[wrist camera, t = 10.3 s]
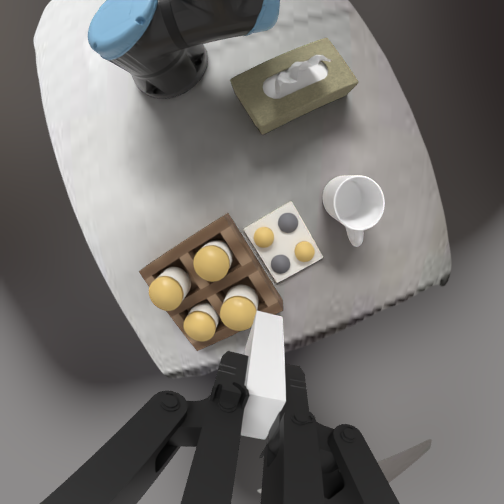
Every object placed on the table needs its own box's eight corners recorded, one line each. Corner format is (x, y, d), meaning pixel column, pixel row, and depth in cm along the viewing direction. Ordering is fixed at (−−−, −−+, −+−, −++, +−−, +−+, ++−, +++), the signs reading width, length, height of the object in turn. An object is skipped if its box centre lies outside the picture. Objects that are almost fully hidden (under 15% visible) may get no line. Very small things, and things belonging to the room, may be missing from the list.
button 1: (155, 276, 50) (142, 288, 44) (179, 261, 49) (167, 272, 43) (173, 301, 51) (162, 315, 45) (197, 287, 50) (188, 301, 44)
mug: (367, 236, 49) (387, 250, 39) (326, 242, 50) (338, 258, 40) (361, 173, 46) (382, 173, 36) (318, 177, 47) (330, 178, 37)
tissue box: (261, 136, 46) (255, 118, 31) (234, 94, 44) (218, 61, 29) (348, 94, 43) (376, 65, 27) (321, 54, 41) (337, 14, 25)
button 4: (219, 293, 50) (212, 308, 44) (247, 278, 49) (243, 292, 43) (237, 319, 51) (232, 336, 45) (264, 305, 50) (263, 321, 44)
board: (148, 264, 54) (138, 271, 50) (228, 212, 50) (223, 216, 46) (202, 339, 58) (197, 350, 54) (282, 299, 54) (283, 310, 50)
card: (244, 228, 51) (242, 230, 49) (291, 200, 49) (292, 201, 47) (276, 281, 53) (277, 285, 51) (322, 256, 51) (324, 259, 49)
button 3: (196, 248, 51) (186, 258, 45) (222, 232, 50) (215, 240, 44) (213, 275, 52) (206, 287, 46) (240, 260, 51) (235, 270, 45)
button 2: (186, 307, 54) (177, 321, 49) (209, 294, 53) (202, 308, 47) (202, 329, 56) (195, 345, 50) (226, 318, 54) (221, 334, 49)
